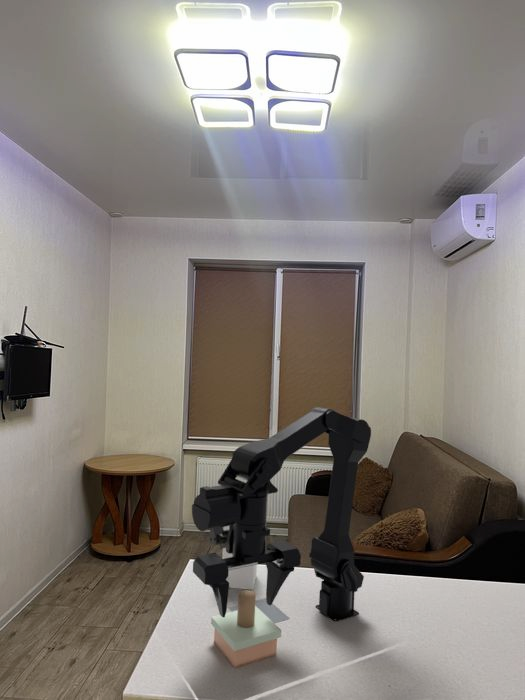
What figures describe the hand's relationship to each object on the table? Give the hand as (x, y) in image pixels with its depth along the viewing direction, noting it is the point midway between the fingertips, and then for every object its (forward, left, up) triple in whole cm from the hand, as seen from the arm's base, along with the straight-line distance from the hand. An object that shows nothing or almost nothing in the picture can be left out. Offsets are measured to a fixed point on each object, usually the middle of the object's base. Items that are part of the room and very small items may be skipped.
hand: (246, 610), depth 84 cm
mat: (-8, -9, -7) cm, 14 cm away
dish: (0, 0, -7) cm, 7 cm away
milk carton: (-11, -23, -7) cm, 27 cm away
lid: (0, 0, -4) cm, 4 cm away
